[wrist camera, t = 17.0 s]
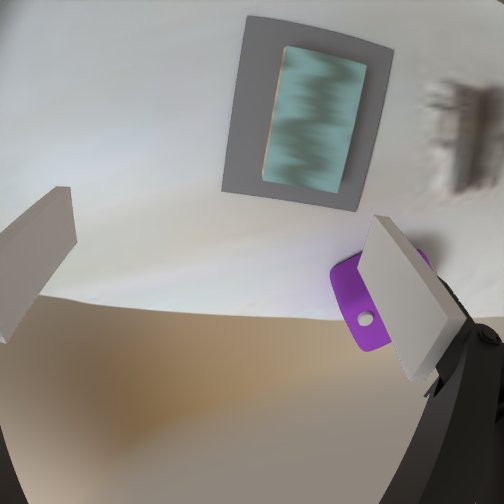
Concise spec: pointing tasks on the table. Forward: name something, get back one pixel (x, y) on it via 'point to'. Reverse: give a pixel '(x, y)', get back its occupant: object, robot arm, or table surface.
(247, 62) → the mat
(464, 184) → the table surface
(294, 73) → the tile
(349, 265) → the toy camera
